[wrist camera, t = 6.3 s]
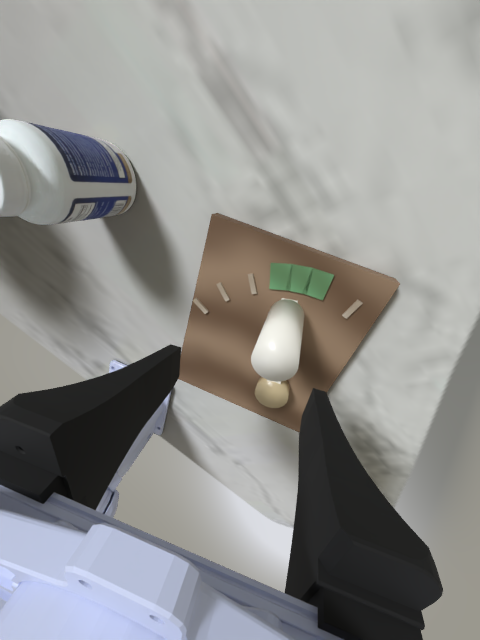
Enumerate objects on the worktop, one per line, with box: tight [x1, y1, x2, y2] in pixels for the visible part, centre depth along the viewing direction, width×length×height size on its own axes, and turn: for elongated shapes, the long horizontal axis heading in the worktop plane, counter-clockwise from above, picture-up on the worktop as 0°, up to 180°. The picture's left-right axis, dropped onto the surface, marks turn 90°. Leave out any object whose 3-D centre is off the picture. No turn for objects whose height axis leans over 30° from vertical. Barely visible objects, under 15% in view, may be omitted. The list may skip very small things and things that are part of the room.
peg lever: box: [251, 298, 304, 408], centre depth 19 cm, size 11×3×7 cm, turn 175°
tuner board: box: [178, 213, 400, 432], centre depth 23 cm, size 17×14×1 cm
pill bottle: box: [0, 119, 136, 225], centre depth 17 cm, size 5×5×10 cm
